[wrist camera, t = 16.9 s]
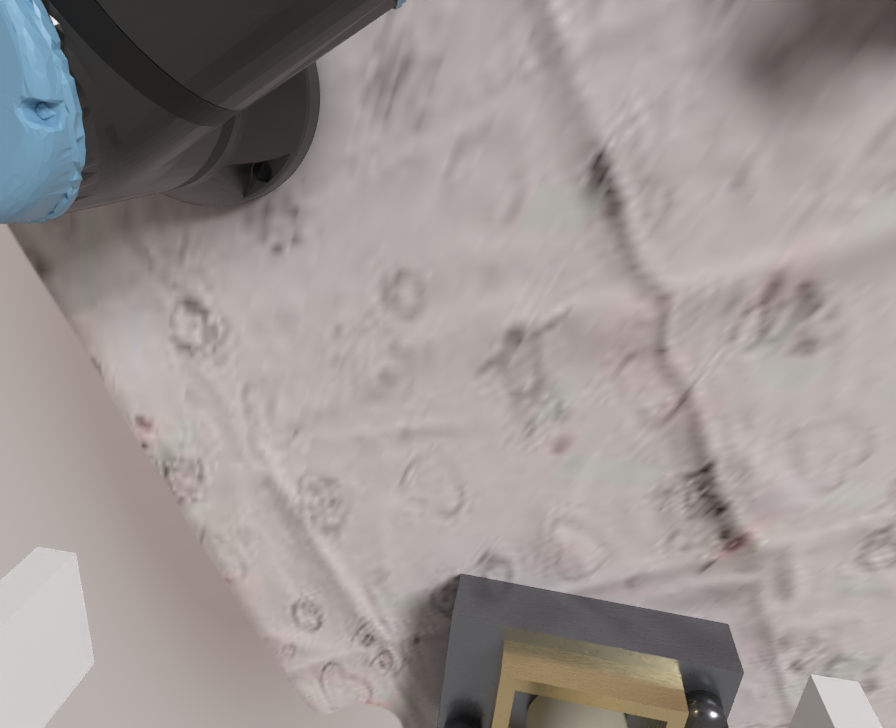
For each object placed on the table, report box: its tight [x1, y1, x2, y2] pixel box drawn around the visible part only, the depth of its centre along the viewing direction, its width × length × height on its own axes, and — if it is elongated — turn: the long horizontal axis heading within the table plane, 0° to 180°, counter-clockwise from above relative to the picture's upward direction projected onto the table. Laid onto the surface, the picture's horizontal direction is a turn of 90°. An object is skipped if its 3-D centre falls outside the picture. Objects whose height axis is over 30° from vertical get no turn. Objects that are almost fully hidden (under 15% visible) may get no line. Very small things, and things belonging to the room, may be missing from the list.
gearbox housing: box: [437, 574, 744, 728], centre depth 54 cm, size 22×16×8 cm
